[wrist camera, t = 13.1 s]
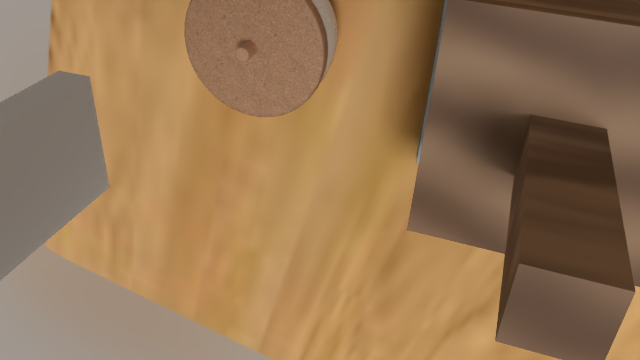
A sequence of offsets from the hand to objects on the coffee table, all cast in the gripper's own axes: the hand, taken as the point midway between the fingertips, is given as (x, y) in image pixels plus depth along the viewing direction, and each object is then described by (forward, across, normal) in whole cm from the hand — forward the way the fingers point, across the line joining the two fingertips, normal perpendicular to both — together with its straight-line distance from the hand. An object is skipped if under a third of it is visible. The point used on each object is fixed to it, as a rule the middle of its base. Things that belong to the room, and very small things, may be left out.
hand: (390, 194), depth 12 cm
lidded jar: (+36, -16, -9) cm, 40 cm away
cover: (+35, +5, -11) cm, 37 cm away
